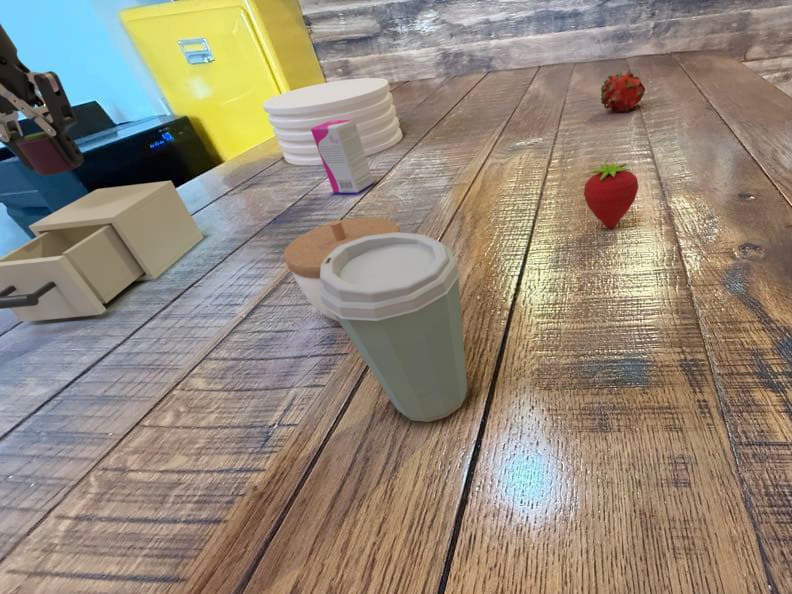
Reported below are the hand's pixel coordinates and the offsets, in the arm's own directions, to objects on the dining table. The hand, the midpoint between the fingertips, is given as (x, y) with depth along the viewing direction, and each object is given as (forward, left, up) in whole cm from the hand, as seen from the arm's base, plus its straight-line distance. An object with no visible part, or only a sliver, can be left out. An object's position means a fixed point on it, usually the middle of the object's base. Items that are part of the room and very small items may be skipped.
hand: (57, 166), depth 70 cm
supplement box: (+29, +26, -16) cm, 42 cm away
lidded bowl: (+44, -20, -16) cm, 51 cm away
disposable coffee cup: (+55, -38, -16) cm, 68 cm away
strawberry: (+75, -3, -16) cm, 77 cm away
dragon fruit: (+84, +62, -16) cm, 106 cm away
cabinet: (+1, +2, -15) cm, 16 cm away
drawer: (+1, -11, -15) cm, 18 cm away
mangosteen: (0, 0, 0) cm, 0 cm away
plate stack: (+17, +59, -16) cm, 64 cm away
